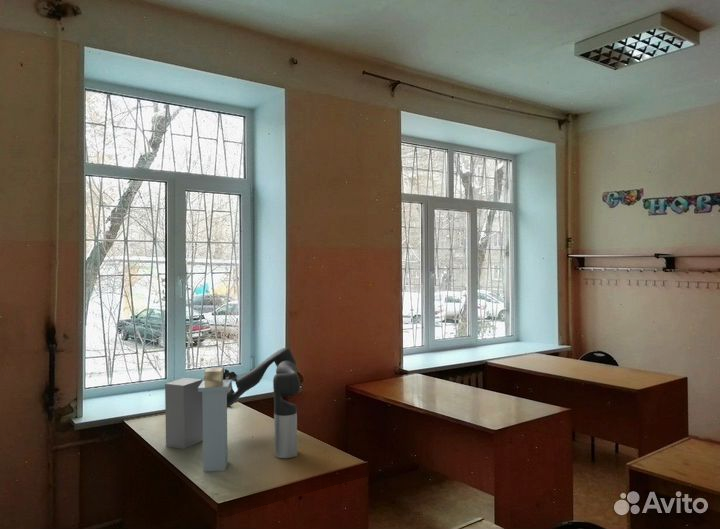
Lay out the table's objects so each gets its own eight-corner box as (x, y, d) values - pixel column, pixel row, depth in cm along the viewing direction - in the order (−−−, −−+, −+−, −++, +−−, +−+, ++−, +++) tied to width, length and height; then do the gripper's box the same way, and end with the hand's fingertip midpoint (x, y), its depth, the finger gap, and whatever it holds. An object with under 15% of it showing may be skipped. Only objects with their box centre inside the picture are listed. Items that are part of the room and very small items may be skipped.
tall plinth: (232, 458, 212) (231, 379, 212) (228, 470, 200) (227, 386, 200) (204, 460, 211) (202, 380, 210) (199, 472, 199) (197, 387, 198)
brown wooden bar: (227, 374, 221) (227, 360, 221) (221, 386, 199) (220, 371, 199) (212, 374, 220) (212, 360, 220) (204, 387, 199) (204, 371, 198)
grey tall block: (184, 437, 238) (184, 377, 238) (202, 439, 234) (202, 379, 234) (165, 446, 227) (165, 383, 226) (184, 449, 223) (183, 385, 223)
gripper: (239, 391, 227) (235, 379, 213) (204, 393, 225) (199, 381, 211) (239, 374, 231) (236, 362, 216) (206, 376, 229) (200, 363, 214)
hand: (217, 371), depth 214 cm, fingers open, 5 cm apart
